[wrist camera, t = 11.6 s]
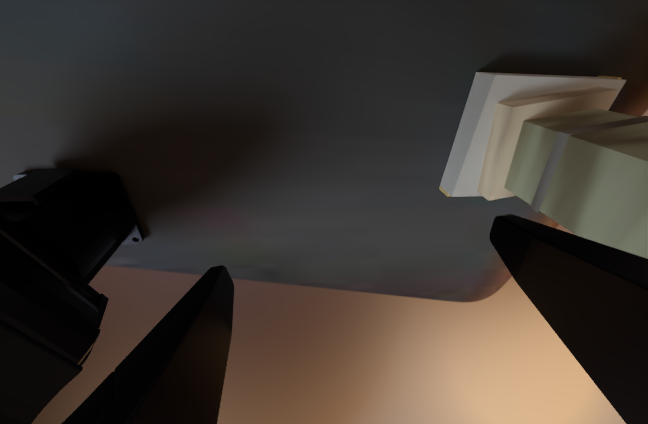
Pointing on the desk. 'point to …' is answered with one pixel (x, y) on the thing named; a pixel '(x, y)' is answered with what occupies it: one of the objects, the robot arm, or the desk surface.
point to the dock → (480, 113)
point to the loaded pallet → (573, 164)
